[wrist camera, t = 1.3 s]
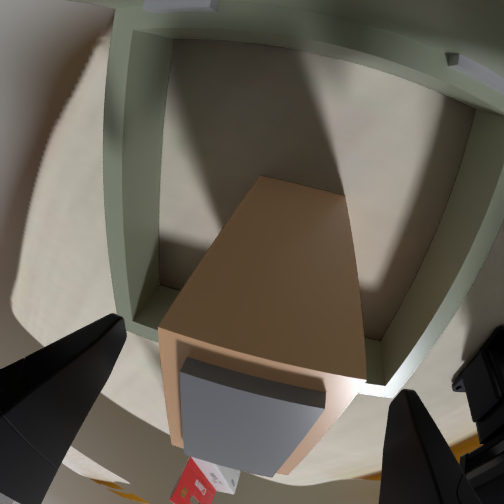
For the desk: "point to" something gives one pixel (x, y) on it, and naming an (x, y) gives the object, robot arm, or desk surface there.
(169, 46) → the case
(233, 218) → the box
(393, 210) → the desk surface
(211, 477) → the ink cartridge box
